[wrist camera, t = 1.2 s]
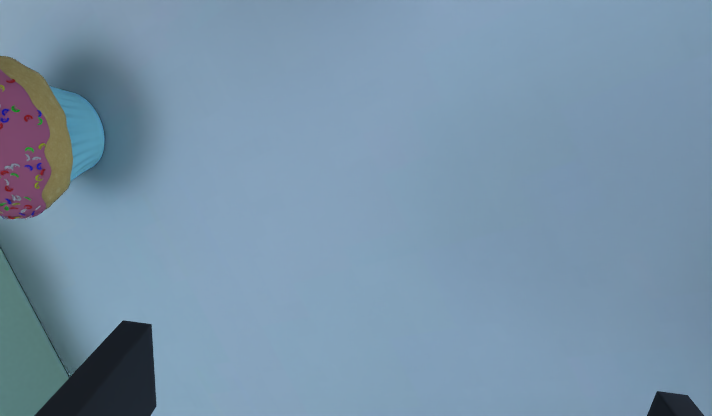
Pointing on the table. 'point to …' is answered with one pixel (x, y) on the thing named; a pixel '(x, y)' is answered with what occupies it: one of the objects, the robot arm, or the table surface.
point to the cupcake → (41, 140)
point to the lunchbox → (24, 352)
